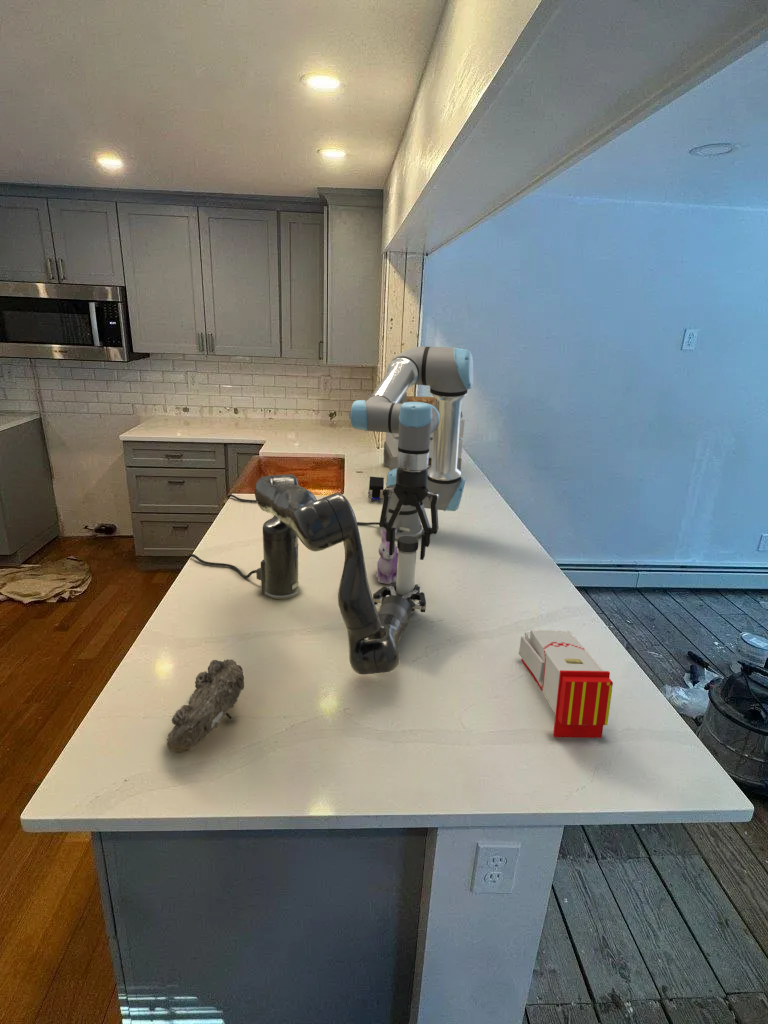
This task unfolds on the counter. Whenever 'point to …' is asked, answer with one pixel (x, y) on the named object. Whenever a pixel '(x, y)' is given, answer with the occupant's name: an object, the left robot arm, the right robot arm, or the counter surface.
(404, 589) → the jar
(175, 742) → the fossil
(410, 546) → the lid
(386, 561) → the figurine
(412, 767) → the counter surface
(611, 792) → the counter surface
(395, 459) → the tiered storage shelf
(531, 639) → the toy
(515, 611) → the counter surface
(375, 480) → the figurine character
